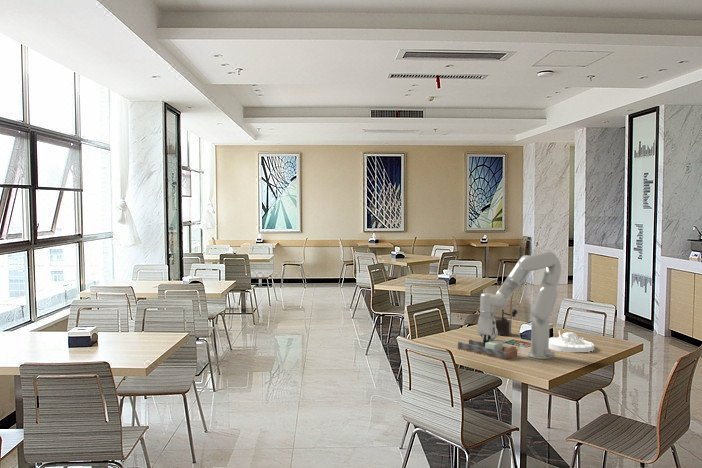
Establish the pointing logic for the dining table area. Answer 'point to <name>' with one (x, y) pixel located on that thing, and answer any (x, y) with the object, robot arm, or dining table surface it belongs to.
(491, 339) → the donut
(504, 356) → the track
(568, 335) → the cake
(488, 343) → the sliding block
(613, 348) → the dining table surface
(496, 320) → the brown coffee grinder
